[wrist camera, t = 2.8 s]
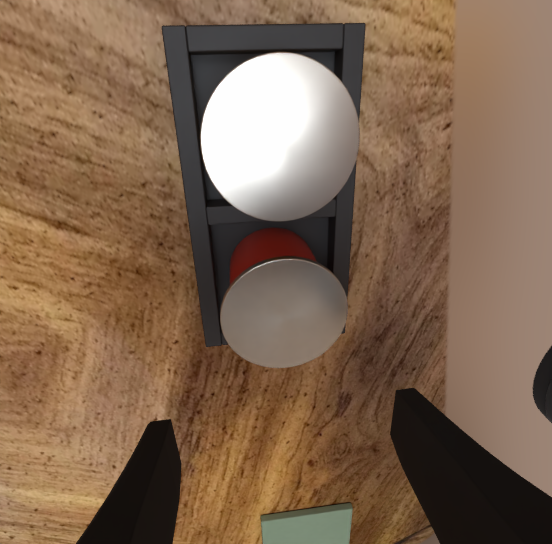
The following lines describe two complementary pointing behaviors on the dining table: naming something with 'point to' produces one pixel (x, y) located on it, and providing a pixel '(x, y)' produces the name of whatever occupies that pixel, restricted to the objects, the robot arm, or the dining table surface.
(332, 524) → the coaster
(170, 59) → the pod holder
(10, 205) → the dining table surface
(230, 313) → the red pod
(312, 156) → the gold coffee pod
